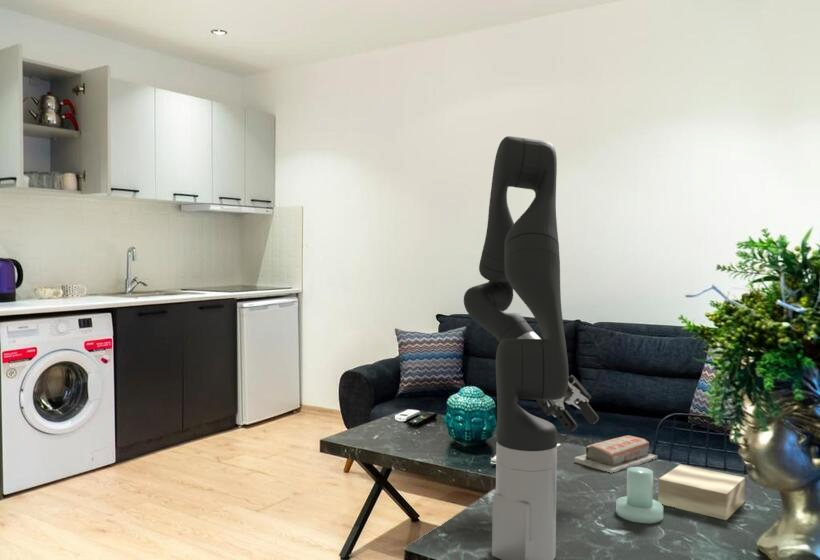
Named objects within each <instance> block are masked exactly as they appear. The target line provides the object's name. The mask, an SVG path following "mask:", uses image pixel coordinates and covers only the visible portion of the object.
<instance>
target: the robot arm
mask: <svg viewBox="0 0 820 560" xmlns="http://www.w3.org/2000/svg"><path fill="white" fill-rule="evenodd" d="M557 157H558V156H557V152H556V149H555V146H554V145H553V144H552V143H551V142H548V141H545V140H542V139H539V140H538V139H534V138H526V137H519V136H510V135H509V136H505V137H504V138H502V140H501V141H500V143H499V144H498V147H497V151H496V154H495V158H494V165H493V171H492V180H491V187H490V189H491V190H490V194H489V195H490V196H489V206H488V215H487V224H486V225H487V227H486V234H485V240H484V243H483V248H482V252H481V256H480V259H479V265H478V272H479V274H480V275H481V276H482V278H484V279H485V280H487V281H488V282H485V283H484V282H483V283H481V284H478V285H475V286H472V287H469V288H468V289H467V290H466V291H465V292H464V294H463V306H464V308H465V310H466V312H467V314H468V315H469V317H470V318H471V319H472V320H473V321H475V322H476V323H477V324H478V325H479V326H481V328H482V329H485V331H487V332H488V333H490V334H491V335H492V336H494V338H496V339H497V341H498V342H499V343H498V344H497V349H496V352H495V353H496V355H495V380H496V381H495V382H496V385H495V386H496V402H497V403H496V404H497V406H496V408H497V410H496V412H497V413H496V417H497V418H496V421H497V422H496V448H495V449H496V452H495V453H496V454H495V493H494V494H493V495H492V513H491V515H492V516H491V517H492V522H491V525H492V526H491V527H492V528H491V529H492V531H491V533H492V534H491V556H492V557H494V558H497V559H499V560H555V558H556V553H557V552H556V546H557V545H556V543H557V542H556V541H557V534H556V533H557V530H556V529H557V474H558V473H557V472H558V471H557V468H558V467H557V463H558V430H557V427H556V426H555V425H554V424H553V423H552V422H550V421H548V420H546V419H543V418H541V417H538V416H536V415H533V414H531V413H529V412H528V411H526V410H525V409H524V408H522V407H521V406H520V405H519V404H518V401H519V400H535V401H536V402H537V405H539V407H540V409H541V410H542V411H543V413H544V414H545V415H546V416H548V417H549V416H550V415H551V416H553V417H554V418H557V420H558V421H559V422H560V423H561V425H562V426H563V427H564V429H565V430H566V431H567V432H568V433H572V432H574V431H575V430H576V429H577V428H578V426H579V425H578V423H577V422H576V420H575V419H574V418H573V416H572V415H571V414H570V412H569V411H568V410H567V409H565V405H564V403H566V404H567V405H573V407H575V408H576V409H579V410H578V411H579V412H580V414H581V415H582V416H583V417H584V418H585V419H586V421H587V422H588V423H589V424H590V425H594V424H596V423H597V422H598V421H599V420H600V416H599V415H598V414H597V412H596V411H595V410H594V409H593V408H592V406H591V405H590V404H589V402H590V400H591V398H592V395H590V392H588V390H587V389H585V387H584V386H583V385H582V384H581V382H580V381H579V380H578V379H577V378H576V377H575V376H574V375H573V374H570V376H569V360H568V359H569V357H568V353H567V341H566V336H565V326H564V319H563V311H562V310H563V309H562V299H561V260H560V258H561V257H560V243H559V234H558V222H557V205H556V204H557V175H558V174H557V173H558V171H557V170H558V169H557V168H558V165H557V164H558V163H557V162H558V159H557ZM510 187H512V188H518V189H524V190H525V189H526V190H531V191H533V192H534V193H535V195H534V199H533V200H532V201H531V204H529V206H528V207H527V209H526V210H524V212H523V213H522V214H521V215H520V217H519V218H518V219H517V220H516V221H515V222H514V220H513V217H512V214H511V212H510V208H509V204H508V188H510ZM514 292H515V293H516V295H518V297H519V298H520V300H522V302H523V303H524V304H525V306H526V307H527V308H528V310H529V312H531V314H532V315H533V317H534V319H535V321H536V322H537V325H538V327H539V330H540V333H541V336H542V338H541V337H540V336H539V335H538V334H537V333H536V332H535V331H534V329H533V328H532V327H531V326H530V325H529V323H528V322H527V320H526V319H525V317H523V316H522V315H521V314H520V313H517V312H505V311H506V310H508V309H509V307H510V306H511V304H512V302H513V300H514ZM546 404H547V405H546Z"/></svg>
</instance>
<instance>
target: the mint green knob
mask: <svg viewBox="0 0 820 560" xmlns="http://www.w3.org/2000/svg"><path fill="white" fill-rule="evenodd" d="M653 491H654V471H653V470H652V469H649V468H646V467H641V466H633V467H630V468H626V495H625V496H621V497H618V498H617V499H616V500H615V501H616V502H615V513H616V515H617V516H618V517H620V518H621V519H623V520H626V521H629V522H633V523H638V524H656V523H659V522H662V521H663V519H664V505H662V504H661V503H660V502H658V500H656V499H654V498H653V497H654V492H653Z"/></svg>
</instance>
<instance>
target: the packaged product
mask: <svg viewBox="0 0 820 560" xmlns="http://www.w3.org/2000/svg"><path fill="white" fill-rule="evenodd" d="M585 447H586V448H585V454H582V455H577V456H575V457H574V462H575V463H576V464H579V465H583V466H586V467H589V468H592V469H596V470H600V471H603V472H605V471H607V472H606V473H608V472H610V473H609V474H614V473H617V472H620V471H621V470H627V469H628V468H630V467H638V466H641V465H643V464H644V463H645V464H646V463H649V461H654V460H657V459H658V455H656V454H653V453H649V452H650V442H649V441H648V440H647V439H645V438H642V437H639V436H633V435H629V434H628V435H623V436H619V437H614V438H611V439H606V440H603V441H599V442H595V443H592V444H589V445H587V446H585ZM638 457H639V458H638ZM650 459H653V460H650ZM613 472H614V473H613Z"/></svg>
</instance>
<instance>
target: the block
mask: <svg viewBox="0 0 820 560" xmlns="http://www.w3.org/2000/svg"><path fill="white" fill-rule="evenodd" d="M657 480H658V482H657V485H658V488H657V501H658V502H660V503H661V504H663V506H667V507H670V506H671V508H674V507H675V509H679V510H683V511H687V512H690V513H695V514H700V515H704V516H708V517H712V518H716V519H720V520H723V521H727V520H728V519H729V518H730V517H731V516H733V514H734V513H735V512H736V511H737V510H738V509H740V507H741V506H742V505H744V503H745V499H746V498H745V496H746V493H745V492H746V491H745V490H746V477H744V476H738V475H735V474H729V473H725V472H720V471H714V470H709V469H704V468H700V467H694V466H689V465H685V464H678V465H677V466H676V467H674V468H672V469H671V470H670V471H668V472H666V473H665V474H664V475H662V476H661V477H659V478H658V479H657Z"/></svg>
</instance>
